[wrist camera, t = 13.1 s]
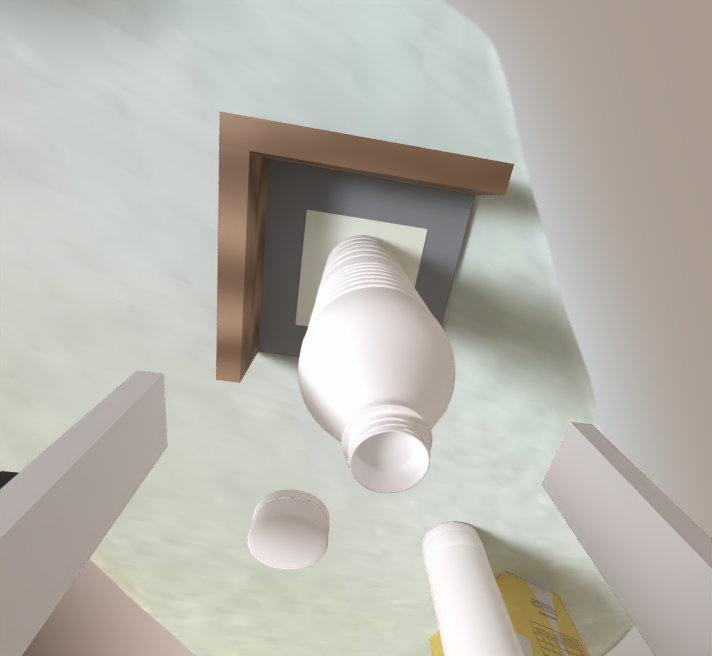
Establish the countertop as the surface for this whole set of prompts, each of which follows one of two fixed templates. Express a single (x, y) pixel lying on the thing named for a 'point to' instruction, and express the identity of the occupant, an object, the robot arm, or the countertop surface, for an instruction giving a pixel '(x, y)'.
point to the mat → (344, 219)
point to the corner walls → (249, 206)
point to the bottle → (466, 594)
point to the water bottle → (362, 392)
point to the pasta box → (534, 620)
